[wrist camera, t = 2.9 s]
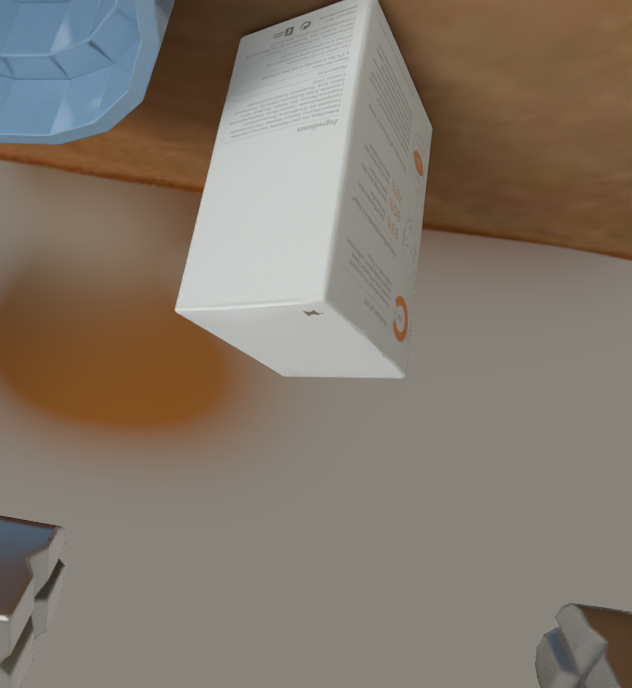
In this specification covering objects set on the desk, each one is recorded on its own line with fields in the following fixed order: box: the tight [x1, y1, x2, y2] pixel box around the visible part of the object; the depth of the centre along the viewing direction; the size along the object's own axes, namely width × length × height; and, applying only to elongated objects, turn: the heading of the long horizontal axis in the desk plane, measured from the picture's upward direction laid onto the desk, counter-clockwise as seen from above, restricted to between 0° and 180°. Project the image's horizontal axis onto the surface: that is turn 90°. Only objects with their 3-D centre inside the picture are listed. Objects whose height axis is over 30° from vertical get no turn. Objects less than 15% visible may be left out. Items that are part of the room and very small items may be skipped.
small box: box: [175, 0, 432, 378], centre depth 24 cm, size 8×6×13 cm
